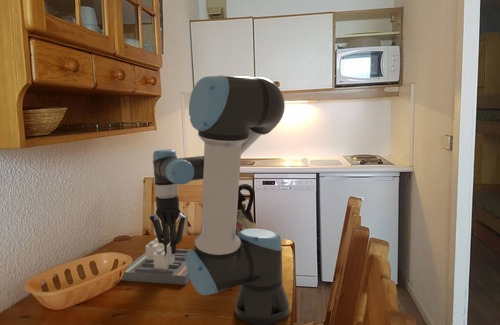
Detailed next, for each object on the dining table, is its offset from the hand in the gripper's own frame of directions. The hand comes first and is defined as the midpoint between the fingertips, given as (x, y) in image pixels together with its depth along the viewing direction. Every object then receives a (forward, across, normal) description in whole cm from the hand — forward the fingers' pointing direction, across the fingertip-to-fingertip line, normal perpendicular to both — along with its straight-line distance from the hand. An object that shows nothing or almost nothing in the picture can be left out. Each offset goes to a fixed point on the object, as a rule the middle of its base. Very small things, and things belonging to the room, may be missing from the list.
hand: (171, 262), depth 126 cm
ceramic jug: (+6, -21, -19) cm, 29 cm away
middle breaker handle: (+3, +10, -7) cm, 13 cm away
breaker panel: (+6, +5, -7) cm, 10 cm away
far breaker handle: (+3, +10, -14) cm, 17 cm away
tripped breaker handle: (+2, +4, 0) cm, 4 cm away
